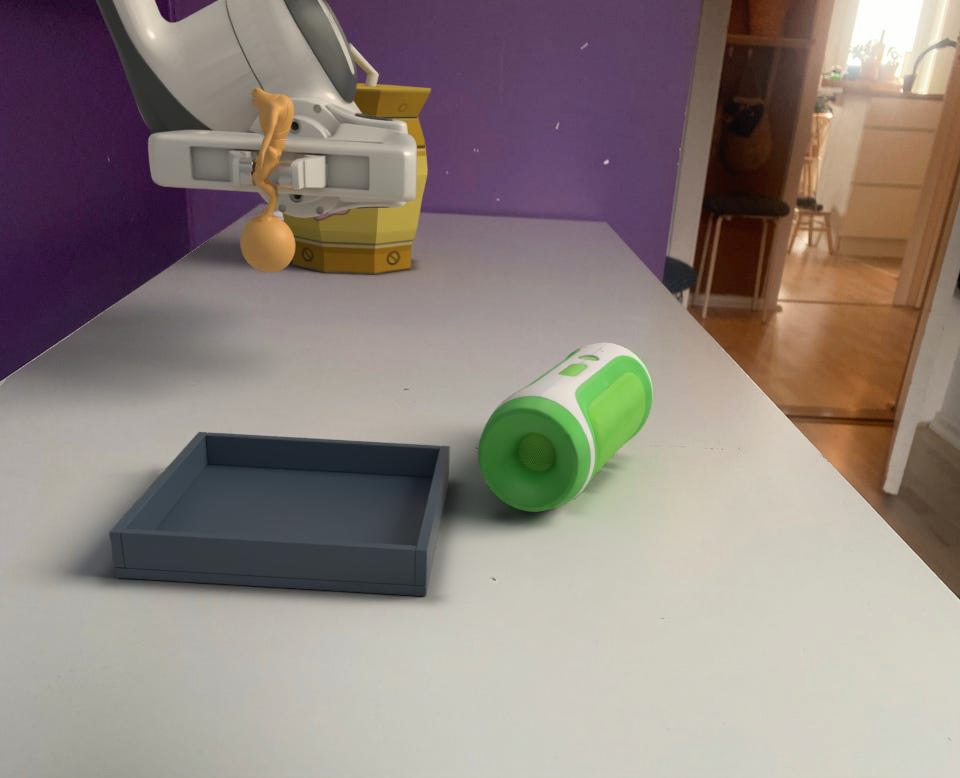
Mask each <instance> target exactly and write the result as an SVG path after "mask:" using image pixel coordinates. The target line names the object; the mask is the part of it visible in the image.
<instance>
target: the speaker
mask: <svg viewBox="0 0 960 778" xmlns="http://www.w3.org/2000/svg"><path fill="white" fill-rule="evenodd" d="M653 400H654V385H653V380H652V376H651V373H650V371H649V368H648V367H647V365H646V364H645V362H644V361H643V360H642V358H641V357H640V356H639V355H637V354H636V353H635V352H633V351H632V350H631V349H628V348H627V347H625V346H622V345H619V344H616V343H612V342H595V343H591V344H587V345H584V346H581V347H579V348H576V349H575V350H574V351H572V352H571V353H569V354H568V355H567V356H566V357H565V359H563V360H562V361H560V362H559V363H558V364H556V365H555V366H554V367H552V368H551V369H549V370H548V371H547V372H545V373H543V374H542V375H541V376H539V377H537V379H535V380H534V381H533V382H531V383H529V384H528V385H526V386H524V387H523V388H521V389H519V390H517V391H515V392H514V393H512V394H511V395H509V396H508V397H507V398H505V399H504V400H503V401H502V402H500V404H499V405H497V407H496V408H495V409H494V411H493V412H492V413H491V415H490V416H489V417H488V419H487V422H486V423H485V425H484V427H483V430H482V433H481V436H480V438H479V443H478V446H477V447H478V449H477V458H478V465H479V470H480V472H481V475H482V478H483V480H484V481H485V483H486V485H487V487H488V488H489V489H490V491H491V492H492V493H493V494H494V495H495V496H496V497H497V498H498V499H499V500H500V501H501V502H503V503H504V504H506V505H508V506H510V507H512V508H514V509H517V510H520V511H524V512H535V513H536V512H537V513H539V512H544V511H549V510H553V509H554V510H555V509H556V508H559V507H562V506H564V505H566V504H568V503H570V502H572V501H574V500H576V499H577V498H578V497H580V496H581V495H582V494H583V493H584V492H585V490H586V489H587V488H588V486H589V485H590V484H591V481H592V479H593V478H594V477H595V476H596V475H597V474H598V473H599V472H600V471H601V470H602V468H604V466H605V465H606V464H607V463H608V462H609V461H610V460H611V459H612V458H613V457H614V456H615V454H616V453H618V451H619V450H620V449H621V448H622V447H623V446H624V445H625V444H626V443H627V442H629V441H631V440H632V439H633V438H634V437H635V436H637V435H638V433H640V431H641V430H642V429H643V427H644V426H645V424H646V422H647V420H648V418H649V416H650V413H651V411H652V406H653V402H654V401H653Z"/></svg>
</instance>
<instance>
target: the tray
mask: <svg viewBox="0 0 960 778" xmlns="http://www.w3.org/2000/svg"><path fill="white" fill-rule="evenodd" d="M450 449H451V446H450V445H435V444H419V443H418V444H417V443H416V444H415V443H401V442H399V443H398V442H382V441H380V442H379V441H368V440H367V441H366V440H365V441H364V440H347V439H330V438H315V437H313V438H312V437H295V436H277V435H261V434H260V435H259V434H245V433H244V434H241V433H225V432H206V431H198V432H197V433H196V435H194V437H192V439H191V440H190V441H189V442H188V443H187V444H186V445H185V447H183V448H182V450H181V451H180V452H179V454H177V456H176V457H175V458H174V459H173V460H172V461H171V462H170V463H169V464H168V466H166V468H165V469H164V470H163V471H162V473H160V475H158V477H157V478H156V479H155V480H154V481H153V483H151V485H149V487H148V488H147V489H146V490H145V491H144V492H143V493H142V495H141V496H140V497H139V498H138V499H137V500H136V502H134V503H133V505H132V506H131V507H130V509H128V510H127V511H126V513H125V514H124V515H123V516H122V517H121V518H120V519H119V520H118V522H117V523H116V524H115V525H114V526H113V527H112V528H111V529H110V530H109V532H108V534H109V541H110V549H111V554H112V561H113V567H114V568H113V569H114V577H115V579H116V578H117V579H130V580H131V579H133V580H151V581H167V582H182V583H183V582H184V583H198V584H214V585H215V584H216V585H218V584H219V585H231V586H232V585H233V586H234V585H235V586H251V587H267V588H282V589H283V588H284V589H285V588H286V589H299V590H314V591H332V592H350V593H368V594H383V595H399V596H401V595H402V596H416V597H426V596H427V594H428V589H429V584H430V580H431V579H430V578H431V574H432V569H433V563H434V558H435V554H436V549H437V543H438V540H439V539H438V538H439V534H440V529H441V523H442V519H443V513H444V510H445V509H444V508H445V504H446V503H445V502H446V498H447V493H448V488H449V480H450V477H449V476H450V454H451V453H450Z"/></svg>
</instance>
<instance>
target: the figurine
mask: <svg viewBox="0 0 960 778" xmlns="http://www.w3.org/2000/svg"><path fill="white" fill-rule="evenodd" d="M251 95H252V96H253V97H254V98H255V97H256V99H252V100H251V102H252V104H253V105H254V106H256V107H257V108H258V109H259V123H260V127H261V129H262V132H263V134H264V138H263V141H262V144H261V149H260V152H259V155H258V156H257V157H256V159H255V162H256V161H257V162H256V165H255V169H256V170H255V171H254V173H253V175H252V178H253V181H254V183H255V184H256V185H257V186H258V187H259V188H260V189H261V190H262V191H263V192H264V193H266V194H267V195H269V196H270V200H269V203H267V205H266V207H265V209H264V210H262V211H261V212H260V213H258V215H256V216H255V217H253V218H252V219H250V220H249V221H248V222H246V224H245V225H244V226H243V228H242V230H241V233H240V237H239V246H240V250H241V253H242V256H243V258H244V260H245V261H246V262H247V263H248V264H249V266H251V267H252V268H253V269H255V270H257V271H259V272H261V273H265V274H272V273H273V274H275V273H278V272H281V271H282V270H284V269H285V268H287V267H288V266H289V265H290V263H291V262H292V261H293V256H294V253H295V239H294V236H293V233H292V231H291V229H290V228H289V227H288V225H287V224H286V223H285V222H284V220H282V219H281V218H279V217H277V216H274V212H275V210H276V209H275V207H276V204H277V202H278V198H279V194H278V188H277V186H276V184H275V183H273V182H270V181H267V178H268V177H269V176H270V175H271V173H272V172H273V170H274V169H275V168H276V167H277V166H278V162H279V159H280V156H281V153H282V151H283V150H284V148H285V141H286V139H285V138H286V137H287V135H288V133H289V131H290V128H291V124H292V121H293V117H294V105H293V102H292V101H291V99H290V98H289V97H288V96H286V95H284V94H281V95H280V94H270V93H267V92H265V91H264V90H262V89H260V88H254V89H253V91H252V93H251ZM256 167H257V168H256Z"/></svg>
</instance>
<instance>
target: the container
mask: <svg viewBox="0 0 960 778" xmlns="http://www.w3.org/2000/svg"><path fill="white" fill-rule="evenodd" d="M348 43H349V46H350V49H351V52H352V55H353V58H354V61H355V64H356V65H358V66H359V67H360V68H361V70H363V71H364V72H365V73H366V78H365V83H363V82H362V83H361V82H359V83H358V82H357V88H356V93H355V97H354V100H353V101H354V102H355V104H356V105H357V107H358V108H359V110H360V111H361V113H362V114H365V115H370V116H376V117H383V118H391V119H392V120H400V121H404V122H405V123H406V124H407V129H408V134H409V135H411V136H412V137H413V138H414V139H415V142H416V145H417V180H416V198H415V200H414V201H411V202H406V204H405V205H403V206H401V207H390V208H360V209H357V208H352V209H347V210H343V211H339V212H335V213H328V212H326V213H324V214H322V215H319V216H315V217H309V218H300V217H294V216H290V215H287V214H284V213H282V212H281V213H282V219H283V221H284V222H285V223H286V224H287V225H288V227H289V228H290V229H291V231H292V233H293V236H294V239H295V253H294V256H293V258H292V266H297V267H300V268H304V269H309V270H313V271H317V272H320V273H325V274H326V273H328V274H329V273H330V274H351V275H352V274H353V275H380V274H388V273H396V272H402V271H409V270H411V265H412V248H413V247H412V246H413V243H414V240H415V237H416V234H417V230H418V225H419V221H420V214H421V207H422V201H423V196H424V192H425V188H426V185H427V184H426V183H427V179H428V158H427V146H426V139H425V136H424V131H423V129H422V125H421V122H420V118H419V115H420V113H421V111H422V110H423V107H424V105H425V104H426V101H427V99H428V97H429V96H430V94H431V92H432V87H419V86H407V85H394V84H382V83H381V84H379V83H378V80H379V77H380V76H379V75H380V74H379V73H378V71H377V70H376V69H375V68H374V67H373V66H372V65H371V64H370V63H369V62H368V61H367V59H365V57H364V56H363V55H362V54H361V53H360V52H359V51H358V49H356V48H355V46H353V44H352V43H351V42H348Z"/></svg>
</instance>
